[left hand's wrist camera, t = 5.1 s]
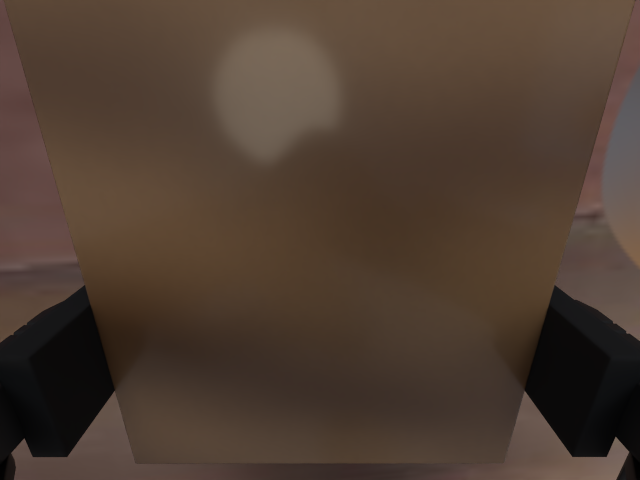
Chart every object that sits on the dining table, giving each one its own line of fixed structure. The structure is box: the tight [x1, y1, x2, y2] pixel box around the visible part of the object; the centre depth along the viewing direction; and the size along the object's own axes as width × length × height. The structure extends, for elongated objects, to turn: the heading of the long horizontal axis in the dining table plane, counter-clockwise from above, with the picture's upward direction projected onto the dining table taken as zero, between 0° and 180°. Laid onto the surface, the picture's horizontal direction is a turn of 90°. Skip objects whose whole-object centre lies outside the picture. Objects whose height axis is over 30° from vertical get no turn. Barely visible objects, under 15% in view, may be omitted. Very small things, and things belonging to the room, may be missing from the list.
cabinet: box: [4, 0, 635, 464], centre depth 11 cm, size 20×11×10 cm, turn 0°
